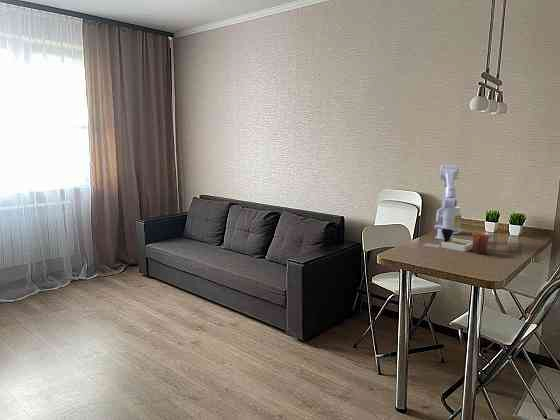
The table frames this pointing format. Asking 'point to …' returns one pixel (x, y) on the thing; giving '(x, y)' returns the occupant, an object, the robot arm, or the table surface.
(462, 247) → the frame
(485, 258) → the table surface
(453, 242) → the tile rear
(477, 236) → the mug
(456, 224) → the supplement tub
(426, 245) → the slate coaster
